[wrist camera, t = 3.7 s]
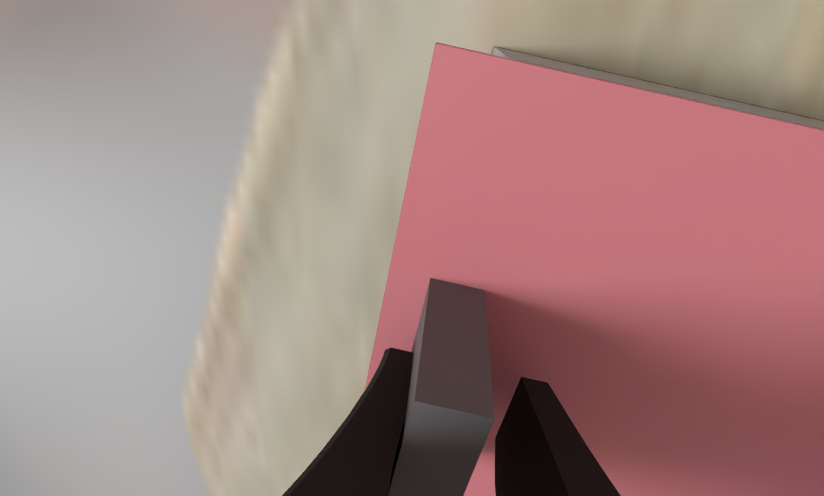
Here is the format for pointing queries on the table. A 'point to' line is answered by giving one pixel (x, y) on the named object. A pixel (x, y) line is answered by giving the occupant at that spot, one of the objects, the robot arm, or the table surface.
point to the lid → (608, 282)
